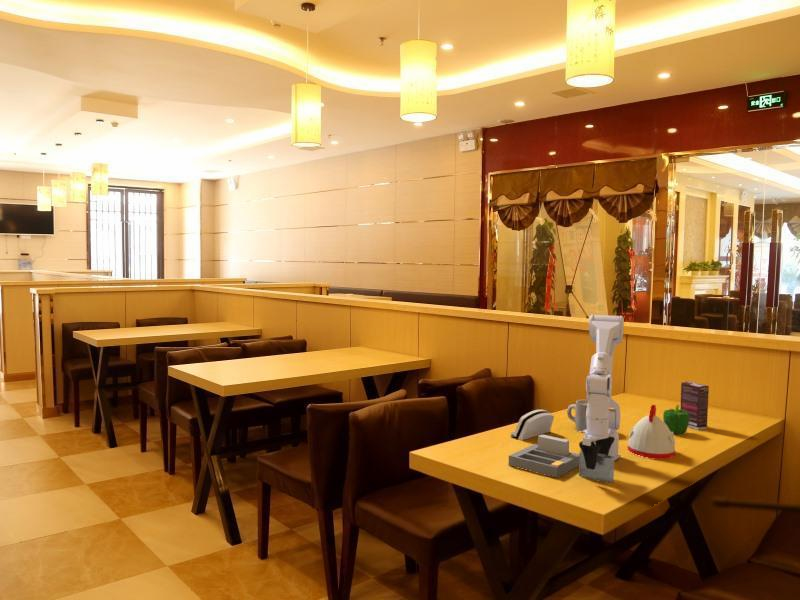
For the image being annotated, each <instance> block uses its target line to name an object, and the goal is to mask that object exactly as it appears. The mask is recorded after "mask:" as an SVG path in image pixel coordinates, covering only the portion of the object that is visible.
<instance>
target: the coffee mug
mask: <svg viewBox="0 0 800 600" xmlns="http://www.w3.org/2000/svg"><path fill="white" fill-rule="evenodd" d="M587 404H588V400H587V398H586V399H585V398H584V399H577V400H576V401H575V404H570V405H568V407H567V410H566V412H567V413H566V414H567V417H568V419H569V420H571V421H572V422H573V423H574V425H575V428H574V429H575V430H576V431H577V430H578V431H577V432H579V431H582V432H583V430H587V425H586V410H587ZM572 409H574V412H575V414H574V416H573V414H572ZM582 432H581V433H582Z"/></svg>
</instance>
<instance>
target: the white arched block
mask: <svg viewBox="0 0 800 600" xmlns="http://www.w3.org/2000/svg"><path fill="white" fill-rule="evenodd" d="M554 419H555V416H554V415H553V413H551V412H549V411H547V410H545V409H534V410H532V411H530V412H527V413H525V414H524V415H522V416H521V417H520V418H519V420H518V423H517V425H516V427H515V430H514V431H512V432H511V433H510V435H509V438H514V437H515V438H516V437H517V440H519V441H524V440H527V439H531V438H534V437H538V436H540V434H541V435H545V434H547V433H550V432H551V429H552V425H553V422H554ZM533 436H534V437H533ZM530 437H531V438H530Z"/></svg>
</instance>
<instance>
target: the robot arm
mask: <svg viewBox="0 0 800 600" xmlns="http://www.w3.org/2000/svg"><path fill="white" fill-rule="evenodd" d="M588 321H589V322H588V333H589V337H590V340H591V342H593V343H595V344H596V345H595V346H596V348H595V351H596V353H594V354H592V356H591V358H590V359H591V360H590V368H589V373H588V375H586V380H585V381H586V382H585V391H586V399H587V400H588V404H587V410H586V425H587V430H583V433H582V434H584V436H583V437H582V441H579V443H578V446H579V448H580V451H582V452H583V455H584V459H585V463H586V467H587V468H588V469H592V470H594V469H595V466H596V460H597V455H598V453H600V454H605V455H609V456H614V461H616V460H617V459H620V458H621V457H622V455H621V454H619V443H620V442H619V441H620V440H619V438H620V437H619V433H618V431H619V429H620V427H621V406H620V404H619V403H618V402H617V401H616V400H615V399H613V398H612V393H613V392H612V391H613V390H612V389H613V371H614V368H613V366H614V351H615V349H616V346H617V345H619V344H622V341H623V339H624V327H625V325H624V324H625V321H624V317H623V315H602V314H591V315H590V316H589V320H588Z"/></svg>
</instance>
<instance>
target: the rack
mask: <svg viewBox="0 0 800 600" xmlns="http://www.w3.org/2000/svg"><path fill="white" fill-rule="evenodd" d="M579 454H580V453H576V452H572V451H570V440H569V439H564V438H559V437H555V436H552V435H548V434H547V435H546V434H541V435H537V444H536V443H534V444H531V445H529V446H527V447H525V448H523V449H521V450H518V451H515V452H514V453H511V454H509V455H508V466H509V465H511V466H510V467H512V466H515V467H514V468H516V467H519V468H518V469H520V468H523V469H522V470H524V469H527V470H531V471H534V472H533V473H535V472H538V473H537V474H539V473H542V474H541V475H543V474H545V475H544V476H547V475H549V476H548V477H550V476H552V478H554V477H556V478H555V479H558V478H560V477H561V476H563V475H565V474H567V473H568V471H569V472H570V471H572V470H574V469H576V468H577V467H579ZM527 470H526V471H527ZM531 471H530V472H531ZM559 476H560V477H559ZM557 477H558V478H557Z"/></svg>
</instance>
